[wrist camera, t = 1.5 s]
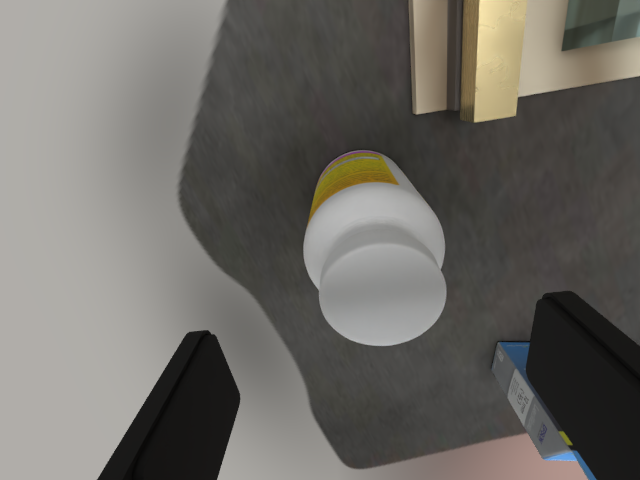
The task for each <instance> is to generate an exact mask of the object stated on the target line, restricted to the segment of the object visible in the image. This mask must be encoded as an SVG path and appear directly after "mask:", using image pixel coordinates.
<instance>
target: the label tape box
mask: <svg viewBox="0 0 640 480" xmlns="http://www.w3.org/2000/svg"><path fill="white" fill-rule="evenodd" d="M529 345H530V342H498V343H497V347H496V351H495V356H494V361H493V365H492V372H493V373H494V375H495V377H496V379H497V381H498V382H499V384H500V386H501V388H502V389H503V391H504V393H505V394H506V396H507V398H508V400H509V401H510V403H511V405H512V407H513V408H514V410H515V412H516V414H517V415H518V417H519V419H520V421H521V422H522V424H523V426H524V427H525V429H526V431H527V433H528V434H529V436H530V438H531V440H532V441H533V443H534V445H535V447H536V448H537V450H538V452H539V454H540V455H541V457H542V458H543V459H544V460H563V461H578V463H579V465H580V466H581V468H582V469H583V471H584V473H585V475H586V476H587V478H588V480H597V479H596V478H595V477H594V475H593V474H592V472H591V471H590V469H589V468H588V466H587V465H586V463H585V462H584V461H583V459H582V458H581V456H580V455H579V453H578V452H577V450H576V449H575V447H574V446H573V444H572V443H571V442H570V440H569V439H568V437H567V436H566V434H565V433H564V431H563V430H562V428H561V427H560V425H559V424H558V423H557V421H556V420H555V418H554V417H553V415H552V414H551V412H550V411H549V409H548V408H547V407H546V405H545V404H544V402H543V401H542V399H541V398H540V396H539V395H538V393H537V392H536V390H535V389H534V388H533V386H532V385H531V383H530V381H529V380H528V377H527V374H526V363H527V357H528V351H529Z"/></svg>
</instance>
